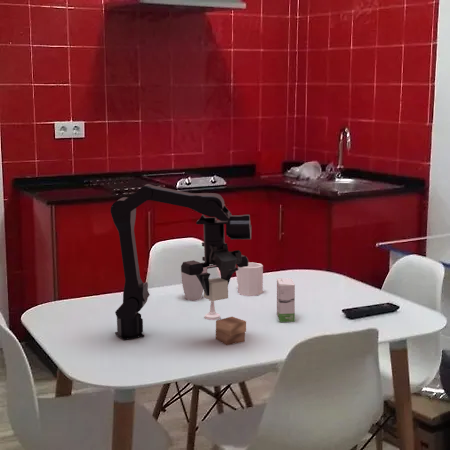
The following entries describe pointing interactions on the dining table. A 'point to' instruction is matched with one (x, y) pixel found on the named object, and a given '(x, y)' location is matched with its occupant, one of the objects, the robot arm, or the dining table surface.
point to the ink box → (285, 300)
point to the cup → (191, 287)
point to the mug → (250, 279)
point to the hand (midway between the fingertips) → (216, 294)
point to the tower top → (231, 326)
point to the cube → (217, 289)
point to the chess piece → (212, 313)
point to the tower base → (230, 338)
